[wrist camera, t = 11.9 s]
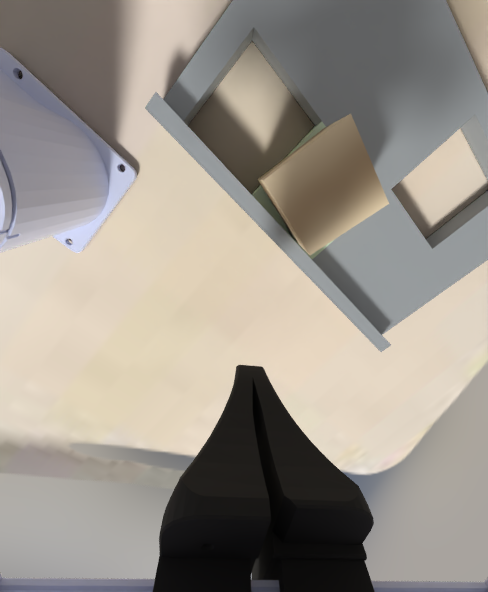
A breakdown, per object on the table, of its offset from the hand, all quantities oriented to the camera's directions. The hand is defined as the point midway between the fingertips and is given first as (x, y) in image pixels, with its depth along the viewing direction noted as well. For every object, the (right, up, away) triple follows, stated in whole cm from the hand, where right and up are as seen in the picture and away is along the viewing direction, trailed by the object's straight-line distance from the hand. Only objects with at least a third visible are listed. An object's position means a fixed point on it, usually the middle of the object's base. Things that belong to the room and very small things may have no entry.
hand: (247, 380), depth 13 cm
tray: (+8, +13, +5) cm, 16 cm away
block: (+4, +12, +4) cm, 13 cm away
